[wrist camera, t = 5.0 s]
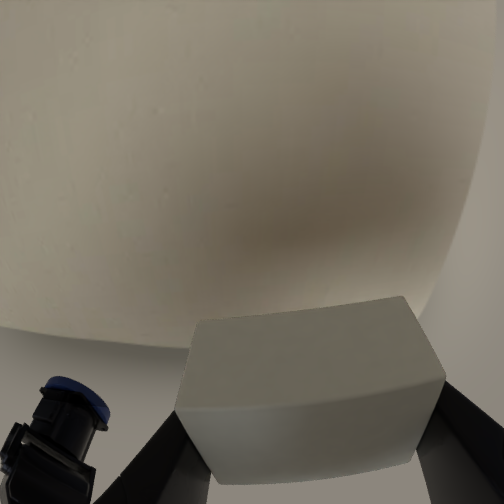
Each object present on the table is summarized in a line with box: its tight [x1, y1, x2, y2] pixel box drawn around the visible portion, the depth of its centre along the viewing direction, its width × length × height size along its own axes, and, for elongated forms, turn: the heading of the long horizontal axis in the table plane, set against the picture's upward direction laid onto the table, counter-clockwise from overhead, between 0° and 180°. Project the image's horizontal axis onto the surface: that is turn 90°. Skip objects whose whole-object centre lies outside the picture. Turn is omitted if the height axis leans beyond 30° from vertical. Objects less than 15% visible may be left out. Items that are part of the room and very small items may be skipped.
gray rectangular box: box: [174, 296, 446, 485], centre depth 8 cm, size 4×6×3 cm
